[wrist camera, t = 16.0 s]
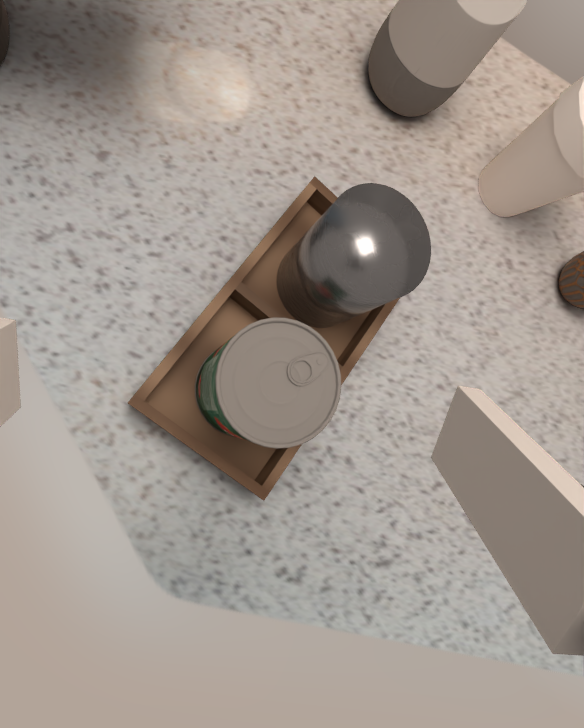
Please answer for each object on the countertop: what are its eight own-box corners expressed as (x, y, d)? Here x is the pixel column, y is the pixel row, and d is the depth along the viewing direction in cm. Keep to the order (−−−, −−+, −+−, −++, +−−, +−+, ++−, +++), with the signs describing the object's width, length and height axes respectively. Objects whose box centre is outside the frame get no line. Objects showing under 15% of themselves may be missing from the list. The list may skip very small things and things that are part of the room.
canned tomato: (221, 454, 35) (253, 474, 25) (177, 367, 35) (190, 351, 24) (302, 408, 38) (362, 409, 27) (262, 327, 37) (307, 297, 27)
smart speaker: (358, 115, 44) (451, -11, 31) (358, 32, 45) (447, -125, 31) (437, 135, 47) (552, 28, 34) (435, 56, 48) (546, -77, 34)
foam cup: (543, 219, 51) (670, 159, 38) (486, 240, 48) (605, 183, 35) (514, 142, 50) (633, 57, 38) (454, 159, 47) (563, 73, 35)
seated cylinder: (271, 319, 38) (319, 286, 27) (281, 232, 39) (331, 169, 28) (354, 334, 40) (427, 309, 30) (361, 252, 41) (434, 200, 31)
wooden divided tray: (253, 492, 37) (264, 500, 33) (129, 403, 34) (127, 403, 31) (396, 282, 43) (417, 272, 40) (301, 195, 41) (314, 176, 37)
